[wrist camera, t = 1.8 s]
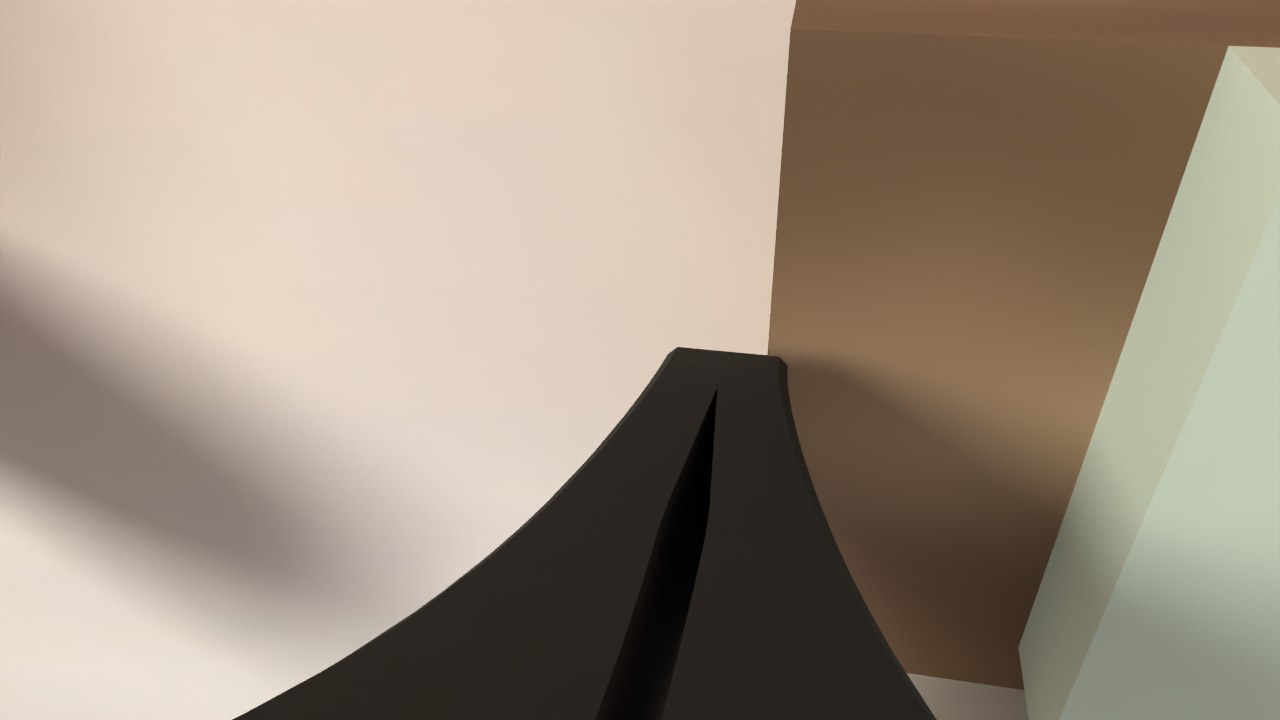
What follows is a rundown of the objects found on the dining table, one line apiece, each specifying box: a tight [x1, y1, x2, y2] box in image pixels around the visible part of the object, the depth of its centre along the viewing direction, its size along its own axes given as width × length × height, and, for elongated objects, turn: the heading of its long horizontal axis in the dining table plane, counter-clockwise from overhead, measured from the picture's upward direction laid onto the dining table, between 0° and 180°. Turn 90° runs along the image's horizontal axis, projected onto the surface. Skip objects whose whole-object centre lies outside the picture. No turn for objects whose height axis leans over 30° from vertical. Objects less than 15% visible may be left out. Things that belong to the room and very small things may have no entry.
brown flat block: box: [768, 0, 1280, 690], centre depth 15 cm, size 16×12×4 cm
